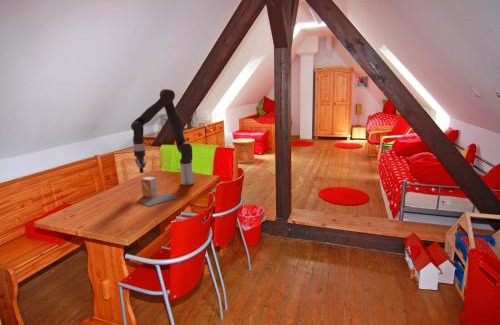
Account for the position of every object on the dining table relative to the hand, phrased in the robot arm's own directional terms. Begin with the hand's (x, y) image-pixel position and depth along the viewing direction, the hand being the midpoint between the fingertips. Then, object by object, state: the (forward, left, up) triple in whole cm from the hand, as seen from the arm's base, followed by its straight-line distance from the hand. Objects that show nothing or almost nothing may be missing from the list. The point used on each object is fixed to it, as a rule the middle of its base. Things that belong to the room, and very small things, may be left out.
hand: (141, 172), depth 222 cm
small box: (0, +10, -15) cm, 18 cm away
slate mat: (0, +23, -15) cm, 27 cm away
